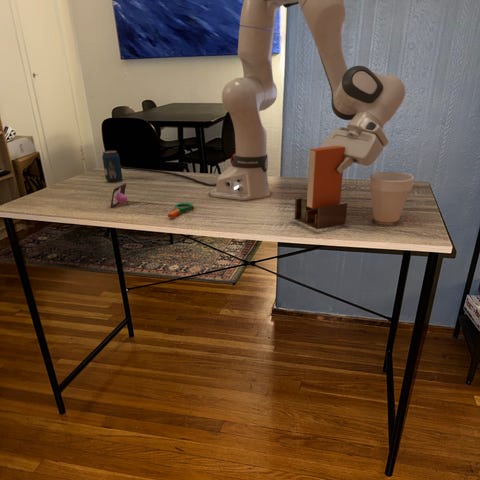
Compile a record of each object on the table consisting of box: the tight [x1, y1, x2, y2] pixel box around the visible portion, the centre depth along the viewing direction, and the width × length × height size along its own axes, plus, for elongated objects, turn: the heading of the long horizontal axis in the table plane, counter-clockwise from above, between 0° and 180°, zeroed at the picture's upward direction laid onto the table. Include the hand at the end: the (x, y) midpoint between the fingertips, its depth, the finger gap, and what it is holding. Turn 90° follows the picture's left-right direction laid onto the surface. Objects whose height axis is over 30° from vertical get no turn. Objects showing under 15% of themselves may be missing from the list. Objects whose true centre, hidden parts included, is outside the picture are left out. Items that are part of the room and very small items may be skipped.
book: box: [306, 146, 345, 209], centre depth 130 cm, size 3×10×16 cm, turn 119°
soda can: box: [101, 150, 123, 184], centre depth 192 cm, size 7×7×12 cm
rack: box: [293, 196, 348, 230], centre depth 136 cm, size 12×11×8 cm
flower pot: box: [368, 171, 415, 223], centre depth 135 cm, size 12×12×14 cm
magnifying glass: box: [167, 202, 194, 219], centre depth 151 cm, size 15×6×2 cm, turn 164°
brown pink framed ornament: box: [110, 183, 130, 208], centre depth 161 cm, size 7×5×9 cm
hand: (332, 170), depth 130 cm, fingers closed on book, 3 cm apart
